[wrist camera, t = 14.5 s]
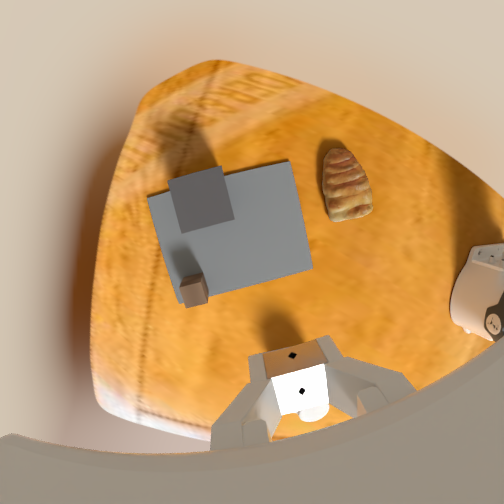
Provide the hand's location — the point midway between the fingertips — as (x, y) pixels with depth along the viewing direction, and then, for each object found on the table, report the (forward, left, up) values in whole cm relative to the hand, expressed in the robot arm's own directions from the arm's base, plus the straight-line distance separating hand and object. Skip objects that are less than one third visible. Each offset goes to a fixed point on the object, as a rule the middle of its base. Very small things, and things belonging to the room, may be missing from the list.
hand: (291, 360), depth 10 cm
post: (+7, +4, -25) cm, 26 cm away
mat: (+1, -1, -26) cm, 26 cm away
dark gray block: (+3, -6, -24) cm, 25 cm away
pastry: (-14, -3, -26) cm, 30 cm away
